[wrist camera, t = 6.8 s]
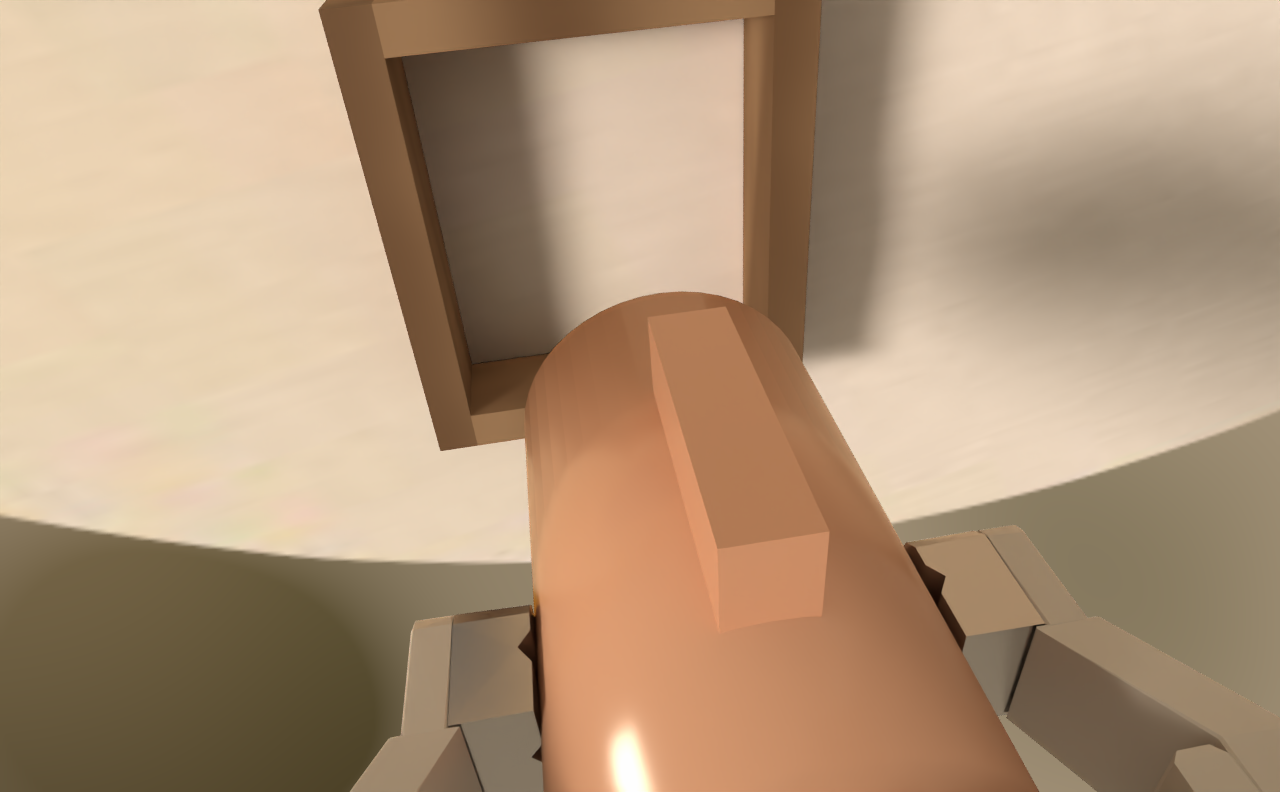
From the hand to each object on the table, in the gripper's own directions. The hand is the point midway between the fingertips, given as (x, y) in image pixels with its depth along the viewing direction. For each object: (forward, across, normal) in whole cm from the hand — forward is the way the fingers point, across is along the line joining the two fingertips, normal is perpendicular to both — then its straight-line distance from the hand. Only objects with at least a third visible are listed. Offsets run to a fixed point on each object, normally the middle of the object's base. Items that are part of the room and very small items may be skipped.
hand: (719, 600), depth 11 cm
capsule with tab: (+4, 0, 0) cm, 4 cm away
